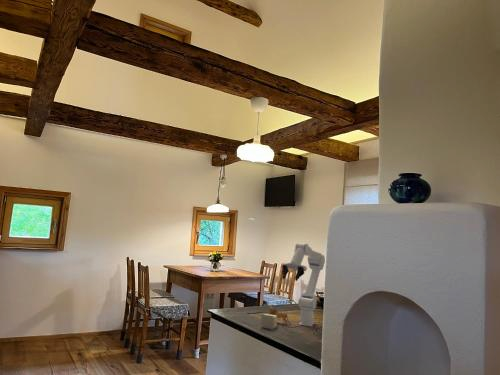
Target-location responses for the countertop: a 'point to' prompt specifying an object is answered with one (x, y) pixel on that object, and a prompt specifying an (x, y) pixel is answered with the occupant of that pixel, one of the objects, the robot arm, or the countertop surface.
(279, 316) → the lion figurine
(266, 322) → the book row
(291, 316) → the countertop surface
